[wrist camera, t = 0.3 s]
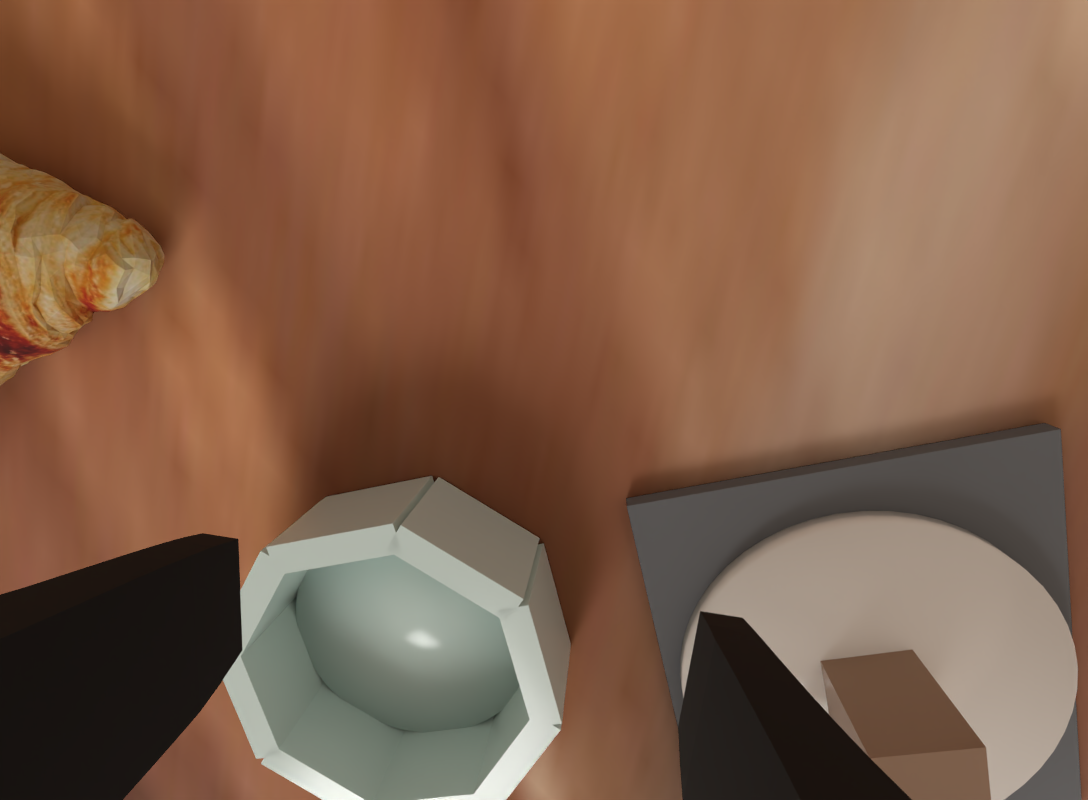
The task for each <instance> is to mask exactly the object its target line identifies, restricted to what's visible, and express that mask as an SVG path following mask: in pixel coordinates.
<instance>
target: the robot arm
mask: <svg viewBox="0 0 1088 800" xmlns="http://www.w3.org/2000/svg"><path fill="white" fill-rule="evenodd" d="M241 652H242V625H241V599H240V573H239V547H238V539H235V538H229V537H222V536H216V535H209V534H203V533H202V534H197V535H193V536H188V537H184V538H180V539H176V540H173V541H169V542H166V543H162V544H159V545H155V546H152V547H149V548H146V549H142V550H139V551H136V552H133V553H130V554H127V555H123V556H120V557H117V558H114V559H111V560H108V561H105V562H102V563H99V564H96V565H93V566H89V567H86V568H83V569H80V570H77V571H74V572H71V573H68V574H65V575H62V576H59V577H56V578H53V579H49V580H46V581H43V582H40V583H37V584H34V585H31V586H28V587H25V588H21V589H18V590H15V591H11V592H8V593H5V594H1V595H0V800H123V799H124V798H125V796H126V795H127V794H128V793H129V792H130V791H131V790H132V789H133V788H134V786H135V785H136V784H137V783H138V782H139V781H140V780H141V779H142V777H143V776H144V775H145V774H146V773H147V772H148V771H149V770H150V768H151V767H152V766H153V765H154V764H155V763H156V762H157V761H158V759H159V758H160V757H161V756H162V755H163V754H164V753H165V751H166V750H167V749H168V748H169V747H170V746H171V745H172V743H173V742H174V741H175V740H176V739H177V738H178V737H179V735H180V734H181V733H182V732H183V731H184V730H185V729H186V727H187V726H188V725H189V724H190V723H191V722H192V720H193V719H194V718H195V717H196V716H197V715H198V713H199V712H200V711H201V710H202V708H203V707H204V705H205V704H206V703H207V701H208V700H209V699H210V697H211V696H212V694H213V693H214V692H215V690H216V689H217V687H218V686H219V685H220V683H221V682H222V680H223V679H224V677H225V676H226V674H227V673H228V671H229V670H230V668H231V667H232V665H233V664H234V662H235V661H236V659H237V658H238V656H239V655H240V653H241ZM678 733H679V751H680V768H681V782H682V797H683V800H912V799H911V798H910V797H909V796H908V795H907V794H906V793H905V792H904V791H903V790H902V789H901V788H900V787H899V786H898V785H897V784H896V783H895V782H894V781H893V780H892V779H891V778H890V777H889V776H888V775H887V774H886V773H885V772H884V771H883V770H882V769H881V768H880V767H879V766H878V765H876V764H875V763H874V762H873V761H872V760H871V758H870V757H869V756H868V755H867V754H866V753H865V752H864V751H863V750H862V749H861V748H860V747H859V746H858V745H857V744H856V743H855V742H854V741H853V740H852V739H851V738H850V737H849V736H848V735H847V733H846V732H845V731H844V730H843V729H842V728H841V727H840V726H839V725H838V724H837V723H836V722H835V721H834V720H833V718H832V717H831V716H830V715H829V714H828V713H827V712H826V711H825V710H824V709H823V708H822V706H821V705H820V704H819V703H818V702H817V701H816V700H815V699H814V698H813V696H812V695H811V694H810V693H809V692H808V691H807V690H806V689H805V688H804V686H803V685H802V684H801V683H800V682H799V681H798V680H797V679H796V677H795V676H794V675H793V674H792V673H791V672H790V671H789V669H788V668H787V667H786V666H785V665H784V664H783V663H782V661H781V660H780V659H779V658H778V657H777V656H776V654H775V653H774V652H773V651H772V650H771V649H770V648H769V646H768V645H767V644H766V643H765V642H764V641H763V640H762V638H761V637H760V636H759V635H758V634H757V633H756V632H755V630H754V629H753V628H752V627H751V626H750V625H749V624H748V623H747V622H746V621H745V620H744V619H743V618H742V617H735V616H729V615H722V614H716V613H709V612H703V611H700V614H699V620H698V625H697V630H696V635H695V641H694V646H693V651H692V656H691V662H690V667H689V672H688V677H687V683H686V688H685V693H684V698H683V704H682V709H681V714H680V719H679V725H678Z"/></svg>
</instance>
